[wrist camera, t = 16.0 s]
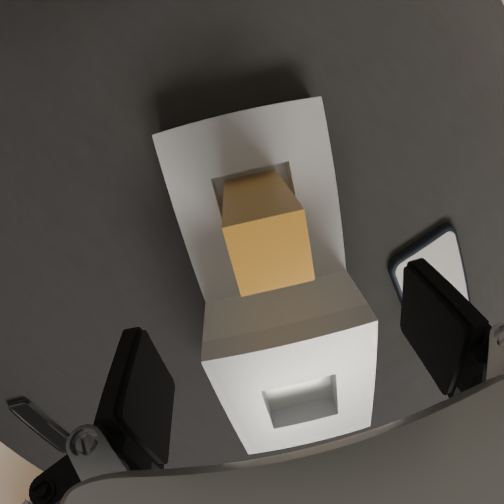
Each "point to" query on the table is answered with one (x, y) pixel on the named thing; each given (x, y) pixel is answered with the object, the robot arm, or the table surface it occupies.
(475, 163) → the table surface
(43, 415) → the phone
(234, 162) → the white stepped socket block
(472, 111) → the table surface
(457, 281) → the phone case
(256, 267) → the plug
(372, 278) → the table surface
